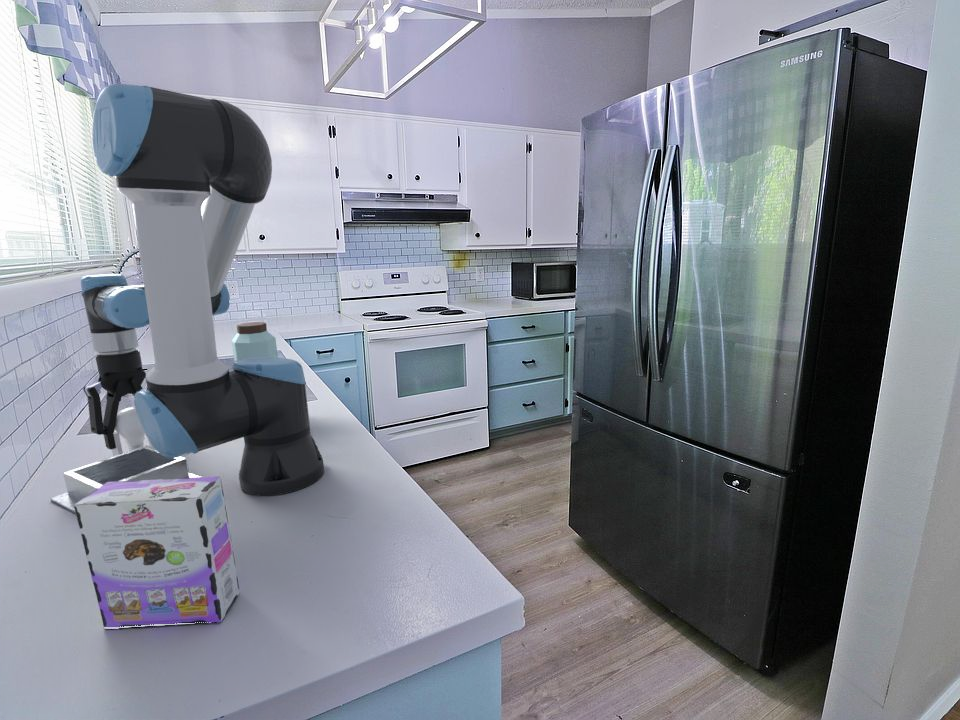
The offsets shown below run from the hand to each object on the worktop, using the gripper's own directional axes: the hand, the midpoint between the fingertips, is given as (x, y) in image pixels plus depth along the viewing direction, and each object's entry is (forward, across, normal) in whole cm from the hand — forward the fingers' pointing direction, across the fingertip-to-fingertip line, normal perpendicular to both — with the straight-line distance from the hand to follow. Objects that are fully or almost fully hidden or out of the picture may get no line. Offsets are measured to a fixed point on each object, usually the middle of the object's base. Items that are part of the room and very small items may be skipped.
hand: (137, 455), depth 110 cm
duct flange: (0, +9, +16) cm, 19 cm away
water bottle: (0, -27, +6) cm, 28 cm away
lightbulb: (0, 0, 0) cm, 0 cm away
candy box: (0, +23, +56) cm, 61 cm away
